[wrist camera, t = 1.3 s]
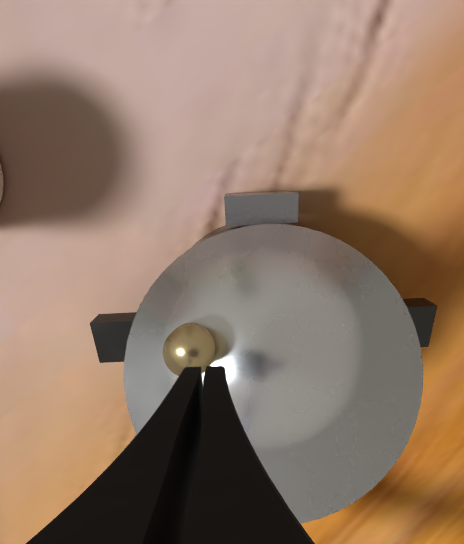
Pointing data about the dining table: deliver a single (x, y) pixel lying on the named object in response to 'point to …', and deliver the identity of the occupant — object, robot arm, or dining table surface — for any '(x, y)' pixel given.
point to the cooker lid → (288, 356)
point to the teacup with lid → (1, 183)
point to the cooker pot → (238, 213)
